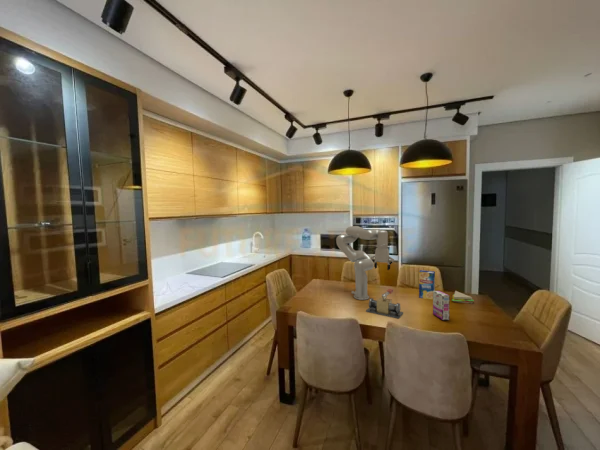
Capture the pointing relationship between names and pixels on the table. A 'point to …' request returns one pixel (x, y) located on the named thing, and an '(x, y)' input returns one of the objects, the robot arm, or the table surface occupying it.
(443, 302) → the candy bar box
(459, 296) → the sandwich
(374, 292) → the table surface
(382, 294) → the valve lever
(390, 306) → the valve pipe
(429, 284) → the blue cereal box
